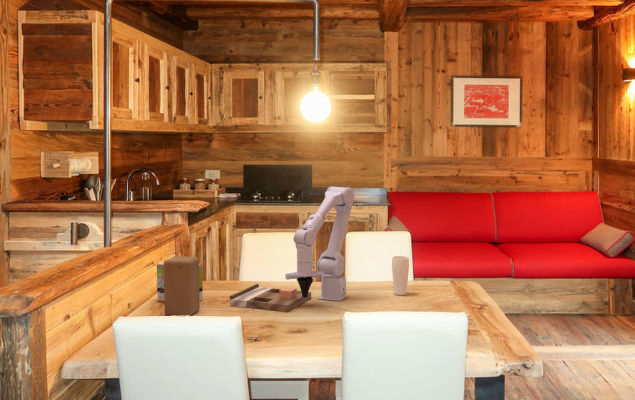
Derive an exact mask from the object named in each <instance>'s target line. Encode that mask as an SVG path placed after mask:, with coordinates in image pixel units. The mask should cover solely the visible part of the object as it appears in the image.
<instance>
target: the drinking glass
mask: <svg viewBox="0 0 635 400" xmlns="http://www.w3.org/2000/svg"><path fill="white" fill-rule="evenodd" d="M391 272H392V273H391V274H392V287H393V294H394V295H395V296H406V295H407V293H408V280H409V272H410V257H408V256H404V255H396V256H392V257H391Z"/></svg>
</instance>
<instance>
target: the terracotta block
mask: <svg viewBox="0 0 635 400" xmlns="http://www.w3.org/2000/svg"><path fill="white" fill-rule="evenodd" d="M280 289H281V290H279V298H284V299H293V298H294V297H296V296H297V291H298V290H297V288H296V287H295V288H294V287H282V288H280Z"/></svg>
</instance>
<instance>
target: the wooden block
mask: <svg viewBox="0 0 635 400" xmlns="http://www.w3.org/2000/svg"><path fill="white" fill-rule="evenodd" d="M162 263H163V266H164V301H163V302H164V305H163V306H164V315H165V316H167V315H191V316H192V315H194V314H196V313H197V312H199V310H200V309H201V307H200V306H201V305H200V302H201V301H200V296H199V264H200V259H199V257H197V256H183V255H182V256H181V255H179V256H178V255H175V256H172V257H170V258H168V259H165V260H163V262H162Z"/></svg>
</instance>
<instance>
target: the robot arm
mask: <svg viewBox="0 0 635 400" xmlns="http://www.w3.org/2000/svg"><path fill="white" fill-rule="evenodd" d="M354 201H355V193H354V191H353V189H352V188H351V187H350V186H347V187H344V186H333V185H331V186H329V187H327V189H326V191H325V192H324V199H323V201H322V202H321V203H320V206H319V207H318V209H317V210H316V213H313V214H310V215H309V216H308V219H307V220H306V222H304V224H303V225H302V227H301V228H300V229H298V230H296V231H295V233H294V235H293V238H292V239H293V242H294V244H295V249H296V271H295V272H290V273H288V272H287V273H285V280H286V281H287V280H295V279H296V281H297V283H298V285H299V286H298V287H299V288H300V291H301V292H302V297H304V298H306V297H307V296H308V292H310V288H311V286H312V283H314V278H321V279H320V280H321V282H320V283H321V289H320V290H321V295H320V296H318V297H317V299H318V300H323V301H324V300H326V301H337V302H341V301H342V300H344V299H345V298H347V297H348V295H347V279H346V277H345V276H342V274H343V273H344V271H345V261H346V259H345V258H344V256H343V255H342V252H341V251H342V248H343V244H344V240H345V237H346V232H347V228H348V225H349V221H350V216H351V213H352V209H353V205H354ZM332 209H335V211H336V214H335V218H334V221H333V222H334V223H333V226H332V230H331V233H330V238H329V241H328V246H327V248H326V250H325V251H324V252H322V253H321V254H320V257H319V259H318V261H317V262H316V269H317V271H316V270H315V271H313V245H314V244H315V243H316V240H317V239H316V238H317V235H318V232H319V231H320V229H321V228H322V226H324V222H325V221H324V219H325V217H326V216H327V215H328V214H329V212H330V211H331V210H332Z"/></svg>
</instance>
